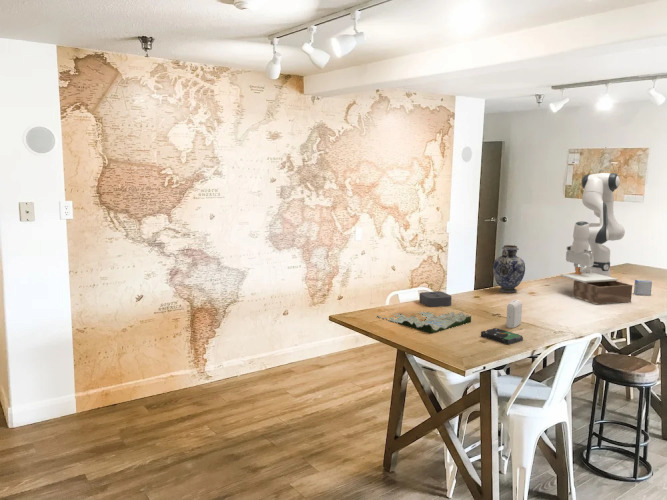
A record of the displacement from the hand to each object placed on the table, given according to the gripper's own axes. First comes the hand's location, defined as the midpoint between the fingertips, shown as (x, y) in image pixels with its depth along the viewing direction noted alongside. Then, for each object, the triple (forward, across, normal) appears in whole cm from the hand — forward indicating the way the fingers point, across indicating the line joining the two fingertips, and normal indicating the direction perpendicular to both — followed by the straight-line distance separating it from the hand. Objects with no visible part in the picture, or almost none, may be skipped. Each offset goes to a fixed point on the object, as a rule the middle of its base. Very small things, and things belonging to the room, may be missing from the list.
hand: (578, 271), depth 319 cm
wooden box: (+12, -20, 0) cm, 24 cm away
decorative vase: (+13, +12, +40) cm, 44 cm away
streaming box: (+13, -5, +96) cm, 97 cm away
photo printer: (+13, -54, +78) cm, 96 cm away
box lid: (+2, -8, 0) cm, 9 cm away
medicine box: (+13, -16, -32) cm, 38 cm away
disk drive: (+13, -70, +94) cm, 118 cm away
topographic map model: (+14, -34, +116) cm, 121 cm away
